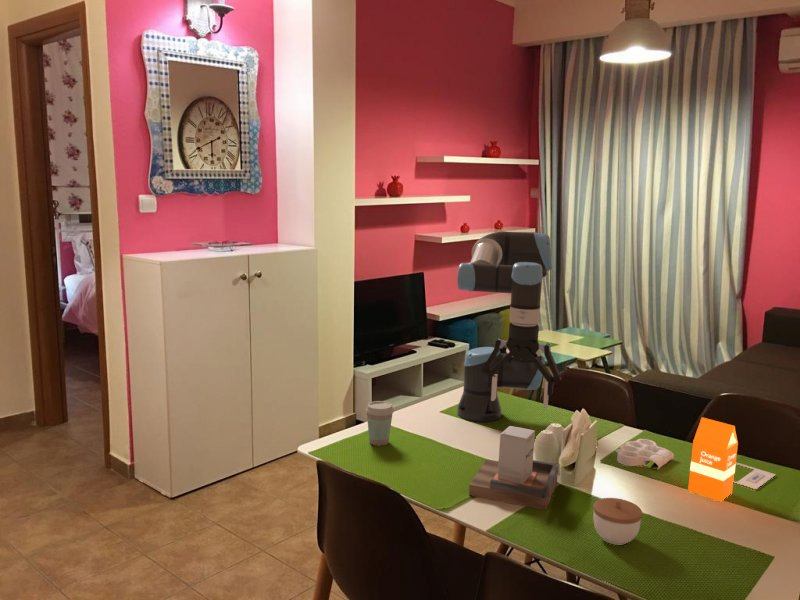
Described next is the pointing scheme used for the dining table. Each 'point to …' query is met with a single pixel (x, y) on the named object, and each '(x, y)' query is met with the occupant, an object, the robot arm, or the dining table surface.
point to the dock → (516, 485)
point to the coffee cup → (379, 422)
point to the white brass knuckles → (643, 453)
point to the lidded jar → (616, 520)
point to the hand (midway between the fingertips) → (519, 403)
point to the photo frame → (754, 477)
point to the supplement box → (516, 454)
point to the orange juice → (713, 459)
